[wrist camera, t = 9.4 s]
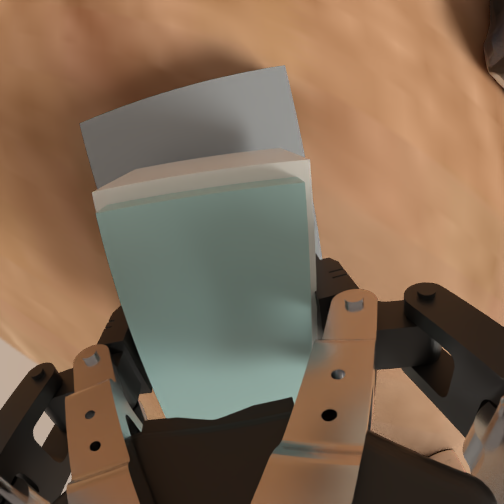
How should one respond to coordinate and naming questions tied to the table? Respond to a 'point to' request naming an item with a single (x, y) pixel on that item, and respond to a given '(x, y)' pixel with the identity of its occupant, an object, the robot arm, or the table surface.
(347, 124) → the table surface
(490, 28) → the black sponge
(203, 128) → the stand
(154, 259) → the block
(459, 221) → the table surface
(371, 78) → the table surface
